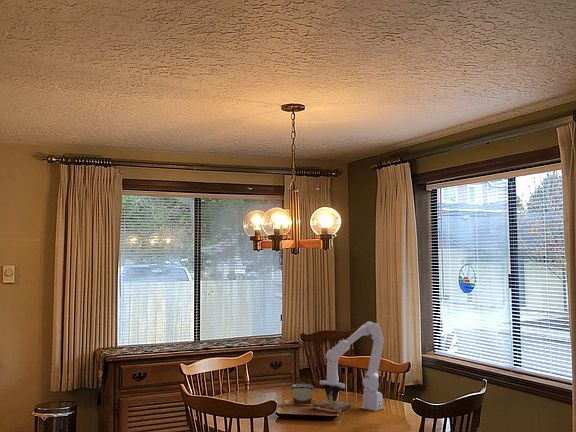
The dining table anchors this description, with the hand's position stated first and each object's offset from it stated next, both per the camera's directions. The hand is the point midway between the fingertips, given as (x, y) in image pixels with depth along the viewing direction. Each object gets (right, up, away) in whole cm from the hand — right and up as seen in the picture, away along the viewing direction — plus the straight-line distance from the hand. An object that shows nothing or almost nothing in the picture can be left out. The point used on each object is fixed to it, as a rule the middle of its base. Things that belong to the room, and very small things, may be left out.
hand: (331, 400), depth 309 cm
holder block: (0, -4, 0) cm, 4 cm away
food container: (-15, -5, +10) cm, 19 cm away
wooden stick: (0, -4, 0) cm, 4 cm away
